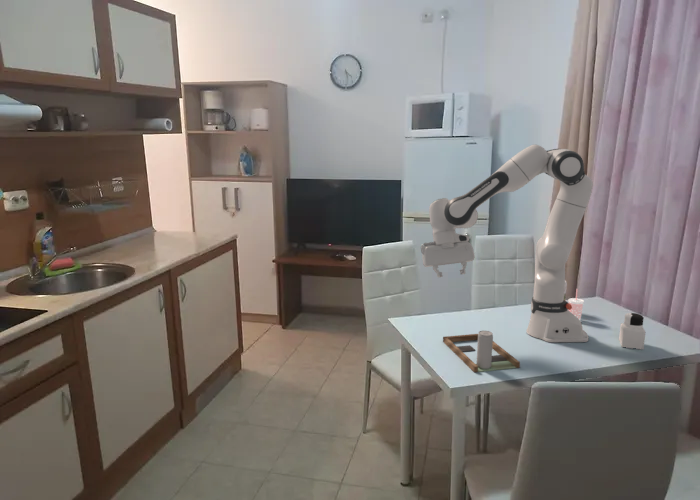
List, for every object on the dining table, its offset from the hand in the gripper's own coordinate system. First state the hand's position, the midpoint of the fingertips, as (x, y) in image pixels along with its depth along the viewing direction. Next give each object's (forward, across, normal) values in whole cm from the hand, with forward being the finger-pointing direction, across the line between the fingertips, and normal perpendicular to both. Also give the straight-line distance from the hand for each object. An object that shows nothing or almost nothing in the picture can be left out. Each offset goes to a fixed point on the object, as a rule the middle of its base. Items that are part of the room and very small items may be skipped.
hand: (451, 275), depth 195 cm
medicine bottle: (+36, +60, -11) cm, 71 cm away
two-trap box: (+30, +2, -8) cm, 31 cm away
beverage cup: (+24, +57, +15) cm, 64 cm away
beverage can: (+34, -2, -18) cm, 38 cm away
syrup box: (+19, +57, +27) cm, 66 cm away
